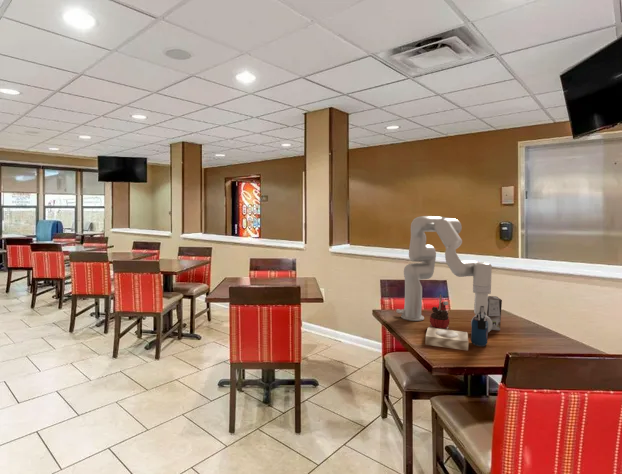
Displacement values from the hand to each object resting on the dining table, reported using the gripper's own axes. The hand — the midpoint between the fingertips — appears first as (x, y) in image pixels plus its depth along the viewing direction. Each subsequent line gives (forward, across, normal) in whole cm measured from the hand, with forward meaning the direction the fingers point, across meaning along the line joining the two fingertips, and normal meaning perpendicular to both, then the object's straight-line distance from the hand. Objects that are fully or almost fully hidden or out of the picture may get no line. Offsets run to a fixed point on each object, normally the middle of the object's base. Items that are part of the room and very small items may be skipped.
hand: (480, 326), depth 168 cm
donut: (+8, -18, +2) cm, 20 cm away
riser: (+8, +4, -14) cm, 17 cm away
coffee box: (+8, -32, +8) cm, 33 cm away
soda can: (+9, 0, 0) cm, 9 cm away
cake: (+8, -16, -18) cm, 26 cm away
